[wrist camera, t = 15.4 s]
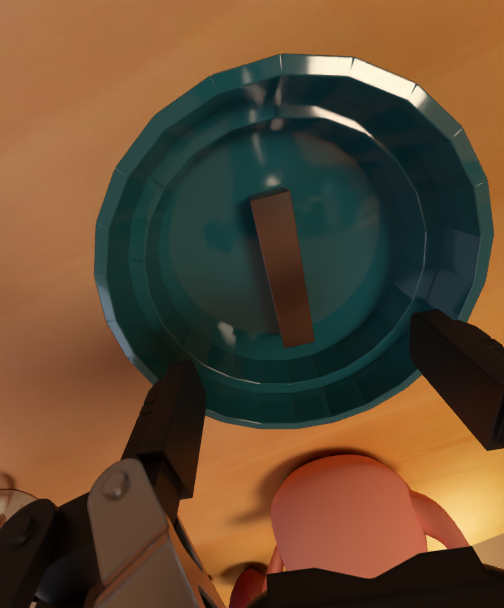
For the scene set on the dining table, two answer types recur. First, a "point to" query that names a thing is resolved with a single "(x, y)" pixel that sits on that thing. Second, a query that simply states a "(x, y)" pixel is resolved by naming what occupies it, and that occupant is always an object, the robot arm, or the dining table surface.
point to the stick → (283, 264)
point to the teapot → (353, 519)
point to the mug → (12, 503)
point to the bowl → (310, 228)
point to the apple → (246, 588)
